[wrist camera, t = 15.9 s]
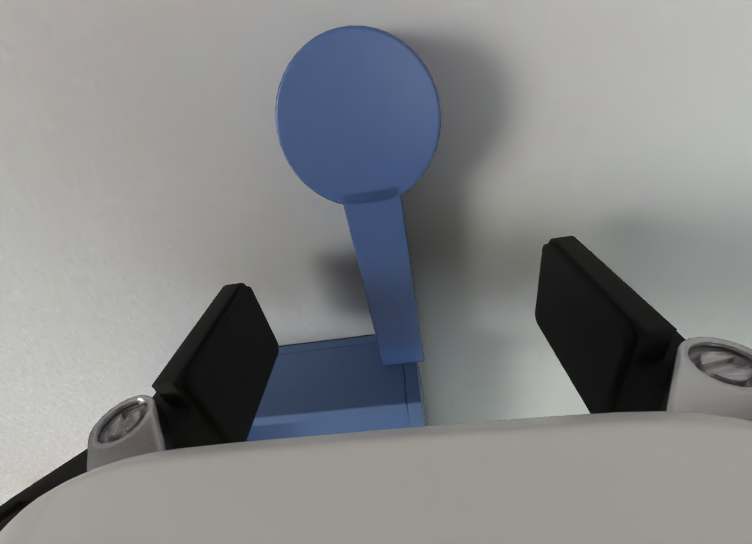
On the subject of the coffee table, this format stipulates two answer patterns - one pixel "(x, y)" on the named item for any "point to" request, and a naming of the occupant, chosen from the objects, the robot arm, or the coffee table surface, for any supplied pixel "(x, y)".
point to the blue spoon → (365, 157)
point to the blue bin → (337, 391)
